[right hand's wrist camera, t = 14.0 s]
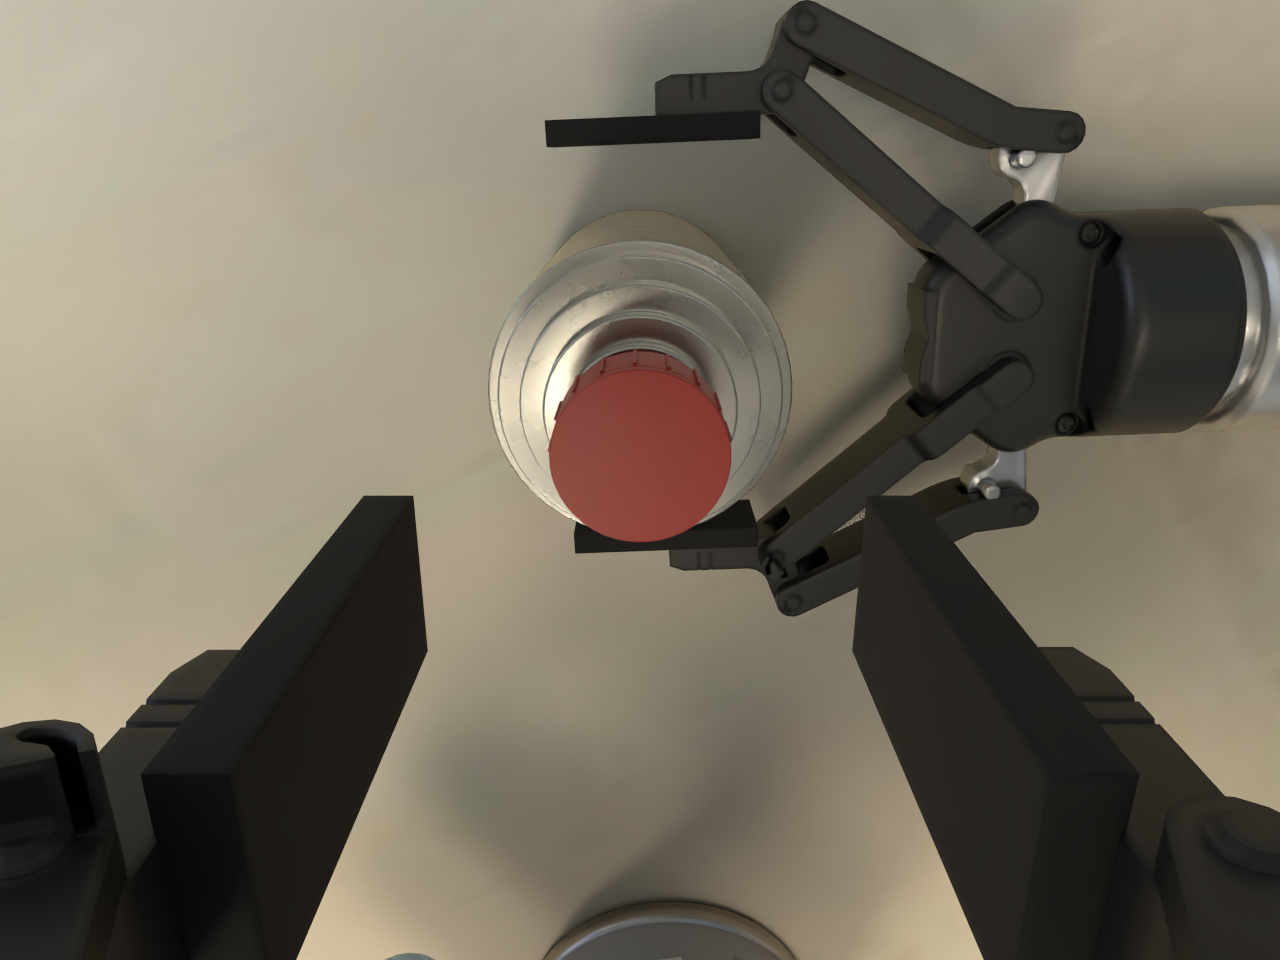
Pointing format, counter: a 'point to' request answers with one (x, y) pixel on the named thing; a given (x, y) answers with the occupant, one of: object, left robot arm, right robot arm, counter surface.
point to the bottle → (640, 340)
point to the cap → (640, 447)
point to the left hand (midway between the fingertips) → (563, 346)
